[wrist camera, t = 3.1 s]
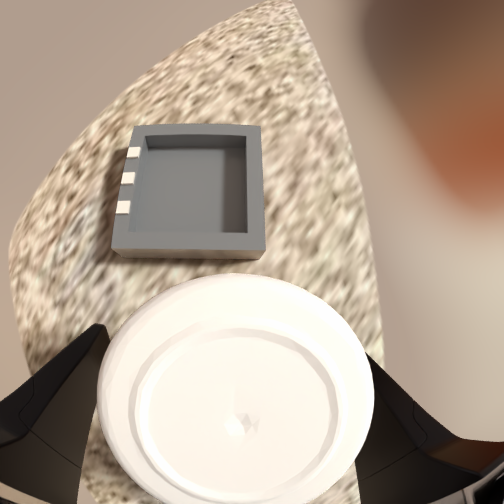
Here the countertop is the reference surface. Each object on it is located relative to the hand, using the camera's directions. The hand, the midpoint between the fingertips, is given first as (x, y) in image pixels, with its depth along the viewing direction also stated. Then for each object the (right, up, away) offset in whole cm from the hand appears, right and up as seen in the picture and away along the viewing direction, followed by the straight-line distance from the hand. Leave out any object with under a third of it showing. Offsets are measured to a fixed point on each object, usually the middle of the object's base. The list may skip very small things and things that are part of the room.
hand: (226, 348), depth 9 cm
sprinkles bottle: (-1, -2, +7) cm, 8 cm away
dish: (-3, +7, +9) cm, 12 cm away
